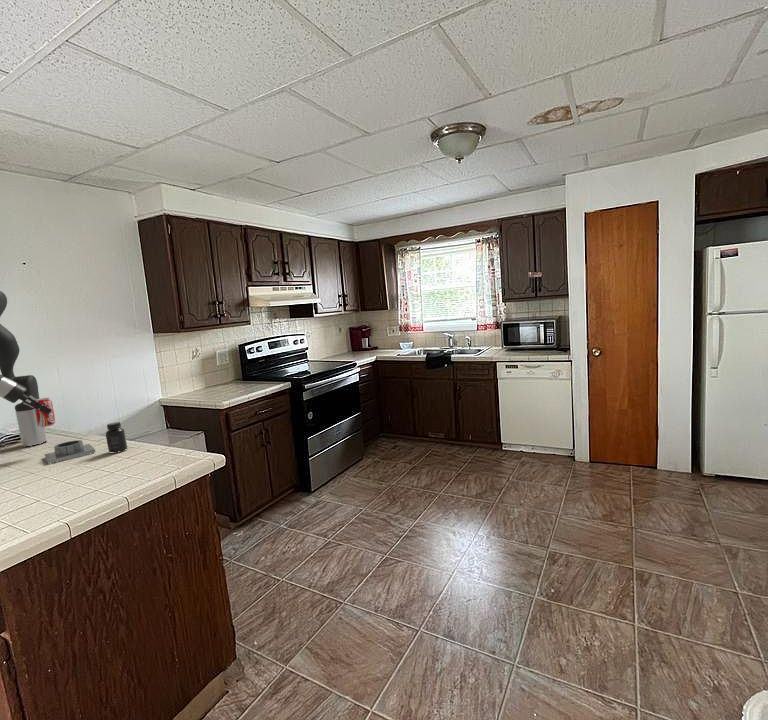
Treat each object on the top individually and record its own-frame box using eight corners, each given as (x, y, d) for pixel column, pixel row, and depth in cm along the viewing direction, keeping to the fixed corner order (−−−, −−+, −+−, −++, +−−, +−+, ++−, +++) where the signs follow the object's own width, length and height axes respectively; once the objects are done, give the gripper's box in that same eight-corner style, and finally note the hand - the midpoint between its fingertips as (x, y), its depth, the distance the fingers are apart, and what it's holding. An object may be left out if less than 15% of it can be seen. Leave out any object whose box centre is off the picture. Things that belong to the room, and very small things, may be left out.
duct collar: (44, 457, 182) (42, 446, 182) (89, 447, 193) (87, 436, 193) (48, 464, 172) (46, 452, 172) (95, 452, 183) (93, 441, 182)
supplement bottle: (131, 448, 185) (126, 420, 184) (120, 453, 179) (115, 425, 177) (116, 448, 186) (111, 421, 185) (104, 454, 179) (100, 426, 178)
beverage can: (45, 427, 184) (40, 400, 183) (34, 428, 186) (29, 400, 184) (59, 423, 190) (54, 397, 189) (48, 424, 192) (43, 397, 190)
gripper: (16, 383, 175) (58, 405, 185) (15, 381, 186) (54, 402, 195) (2, 398, 172) (44, 420, 182) (1, 395, 183) (41, 416, 192)
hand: (49, 411), depth 188 cm, fingers closed on beverage can, 6 cm apart
